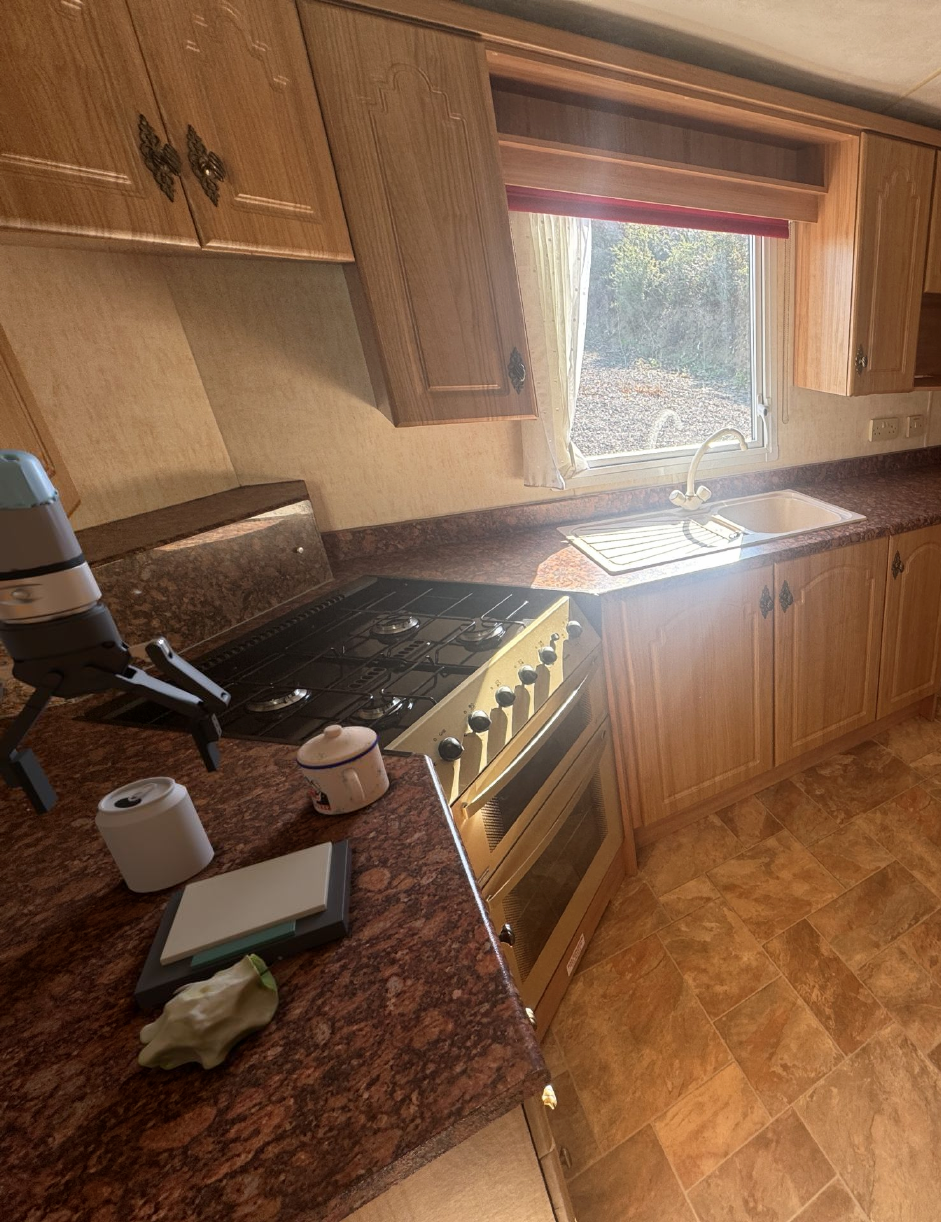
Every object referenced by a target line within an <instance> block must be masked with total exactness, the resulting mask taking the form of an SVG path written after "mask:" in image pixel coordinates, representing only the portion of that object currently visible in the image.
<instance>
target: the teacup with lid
mask: <svg viewBox="0 0 941 1222" xmlns="http://www.w3.org/2000/svg"><path fill="white" fill-rule="evenodd" d="M378 742H379V735H378V734H377V733H376V732H375V731H374V730H373V729H371V728H369V727H366V726H356V725H355V726H345V727H342V726H341V725H340V724H331V725H329V726H327V727H325V728H324V729H323V733H321V734H318V735H317V736H315V737H313V738H311V739H309V740H307V741H306V742H305V743H304V744H302V745H301V747H300V748H299V749H298V751H297V752H296V756H295V757H296V758H295V761H296V764H297V765H298V766H299V767H300V769H301V772H302V774H303V775H302V776H303V777H304V781H305V784H306V786H307V789H308V792H309V794H310V797H311V800H312V803H313V806H314V809H315V810H316V811H317V812H319V813H321V814H324V815H342V814H347V813H350V812H354V811H357V810H360V809H363V808H364V807H366V806H368V805H371V804H372V803H374V802H375V801H378V799H380V798H381V797H382V796H383V795H384V794H385V793H386V792H387V790H388V789H389V786H390V781H389V778H388V774H387V771H386V767H385V764H384V761H383V757H382V754H381V750H380V747H379V743H378Z"/></svg>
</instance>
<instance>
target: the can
mask: <svg viewBox="0 0 941 1222" xmlns="http://www.w3.org/2000/svg"><path fill="white" fill-rule="evenodd" d="M97 809H98V812H97V814H96V816H95V817H94V823H95V825H96V827H97V829H98V831H99V833H100V836H101V837H102V839H103V841H104V843H105V844H106V846H107V848H108V851H109V852H110V854H111V856H112V858H113V860H114V862H115V864H116V866H117V868H118V870H119V872H120V873H121V875H122V877H123V879H124V882H125V883H126V886H127V887H128V889H129V890H131V891H132V892H135V893H145V894H146V893H151V892H157V891H161V890H164V889H167V888H172V887H173V886H175V885H178V884H181V883H182V882H185V881H187V880H189V879H190V878H192V877H193V876H195V875H197V874H198V873H200V872H201V871H202V870H204V869H205V868H206V867H207V866H208V865H209V863H211V861H212V860H213V858H214V855H215V852H214V849H213V847H212V845H211V842H210V840H209V838H208V835H207V832H206V830H205V829H204V826H203V824H202V822H201V819H200V817H199V815H198V812H197V810H196V808H195V805H194V803H193V801H192V798H191V797H190V795H189V792H188V790H187V787H186V786H184V785H183V784H180V783H176V782H175V779H173V778H171V777H170V776H169V777H168V776H156V777H155V776H154V777H149V778H144V779H140V780H137V781H134V782H131V783H128V784H126V785H123V786H121V787H118V788H117V789H115V790H114V791H111V792H110V793H108V794H107V795H105V796H104V797H103V798H102V799H101V800H100V801H99V803H98V804H97Z"/></svg>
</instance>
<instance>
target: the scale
mask: <svg viewBox="0 0 941 1222" xmlns="http://www.w3.org/2000/svg"><path fill="white" fill-rule="evenodd" d="M352 861H353V851H352V848H351V844H350V842H349V840H348V839H344V840H342V841H337V842H335V843H332V842H331V841H328V842H325V843H320V844H317V845H315V846H312V847H308V848H304V849H302V850H297V851H294V852H292V853H288V854H285V855H282V856H277V857H274V858H272V859H269V860H268V859H267V860H265V861H262V862H259V863H255V864H252V865H249V866H245V867H241V868H239V869H235V870H232V871H228V872H226V873H221V874H218V875H215V876H212V877H209V878H206V879H202V880H199V881H196V882H192V883H188V884H187V885H186V886H185V887H184V889H181V890H177V891H174V892H171V895H170V896H169V900H168V902H167V905H166V907H165V910H164V912H163V914H162V918H161V921H160V923H159V926H158V928H157V931H156V934H155V936H154V939H153V941H152V944H151V947H150V949H149V951H148V954H147V958H146V959H145V963H144V966H143V967H142V971H141V973H140V977H139V978H138V982H137V984H136V987H135V988H134V989H135V990H134V991H133V997H134V999H135V1000H136V1001H137V1004H138V1005H139V1007H140V1009H141V1010H145V1009H148V1008H151V1007H153V1006H156V1005H158V1004H162V1003H165V1002H168V1001H171V1000H172V999H173V998H175V997H176V996H177V995H178V994H180V993H181V992H183V991H184V990H183V991H180V992H177V993H175V994H174V992H175V991H176V990H177V989H179V988H181V987H183V986H185V985H187V984H191V983H196V982H202V981H207V980H209V979H211V978H212V977H213V976H214V975H215V974H216V973H217V972H219V971H223V970H227V969H229V968H231V967H233V966H234V965H235V964H237V963H239V962H240V961H241V960H243V959H244V957H245V956H246V955H248V956H249V957H250V956H251V954H255V955H256V956H258V957H259V958H260V959H262V960H263V961H264V962H265V964H266V965H268V964H271V963H275V961H276V960H277V959H278V958H279V957H282V959H284V958H287V957H290V956H292V955H295V954H299V953H301V952H304V951H307V950H309V949H311V948H315V947H317V946H320V945H322V944H325V943H329V942H330V941H334V940H336V939H339V938H342V937H344V936H347V935H348V934H349V918H350V901H351V883H352V882H351V881H352V880H351V879H352Z"/></svg>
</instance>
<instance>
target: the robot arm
mask: <svg viewBox="0 0 941 1222" xmlns="http://www.w3.org/2000/svg"><path fill="white" fill-rule="evenodd" d="M72 527H73V526H72V524H71V523H70V521H69V518H68V516H67V514H66V512H65V509H64V506H63V505H62V503H61V500H60V493H59V491H58V489H57V488H55V487H54V485H53V483H52V481H51V479H50V477H49V476H48V473H47V472H46V470H45V469H44V467H43V465H42V463H41V462H40V460H39V459H38V458H37V457H36V455H34V454H32V453H31V452H28V451H25V450H21V449H11V448H1V449H0V641H1V643H2V645H3V647H4V649H5V651H6V652H7V654H8V656H9V657H10V658H11V660H12V663H13V664H12V665H3V666H0V702H1V701H2V697H3V693H4V689H5V688H6V687H7V686H9V685H10V683H11V680H12V679H15V680H17V681H18V682H21V683H23V684H25V685H27V686H29V687H32V688H34V689H35V690H34V691H33V693H31V696H30V697H29V698H28V699H27V701H26V703H24V706H23V708H22V709H21V710H20V711H19V713H18V715H17V716H16V718H15V719H14V720H13V722H12V723H11V725H10V726H9V728H8V729H7V730H6V732H5V733H4V734H3V736H2V738H1V739H0V776H1V778H2V780H3V781H4V783H5V785H6V786H7V787H8V788H10V789H16V788H20V787H21V788H22V790H23V792H24V793H25V795H26V798H27V799H28V801H29V803H30V804H31V806H32V808H33V809H34V812H35V813H36V815H37V816H40V815H44V814H48V813H49V812H50V811H51V809H52V808H53V807H54V805H55V803H57V801H58V799H59V797H58V795H57V793H56V792H55V790H54V788H53V786H52V784H51V783H50V781H49V779H48V777H47V775H46V773H45V772H44V769H43V767H42V766H41V765H40V762H39V761H38V759H37V757H36V756H35V753H34V751H33V750H32V748H31V747H28V748H24V749H20V750H18V748H20V746H21V744H22V743H23V741H24V740H25V738H26V737H27V735H28V734H29V732H30V731H31V729H32V728H33V727H34V725H35V723H36V722H37V721H38V719H39V718H40V717H41V715H42V714H43V712H44V711H45V709H46V708H47V707H48V705H49V704H50V702H51V701H52V699H53V698H54V697H55V698H58V699H64V701H68V700H73V699H77V698H79V697H82V696H85V695H100V694H105V693H108V692H109V691H110V690H112V689H115V690H118V691H121V692H123V693H127V694H128V693H129V694H134V695H136V696H138V697H141V698H144V699H146V700H149V701H151V702H153V703H156V704H158V705H160V706H163V707H165V708H168V709H170V710H173V711H176V712H177V713H179V714H182V715H184V716H187V717H190V719H189V721H188V723H187V727H188V730H189V732H190V734H191V737H192V739H193V741H194V743H195V746H196V748H197V750H198V752H199V755H200V757H201V759H202V762H203V764H204V767H205V769H206V771H207V773H208V774H209V773H213V772H217V771H218V769H219V767H220V764H221V761H222V758H221V755H220V752H219V750H218V748H217V745H216V743H215V742H219V741H220V738H221V736H222V731H223V730H222V729H221V726H220V724H219V721H218V719H217V716H216V713H218V712H223V711H225V710H226V709H227V708H228V705H229V703H230V701H231V698H232V697H231V694H230V693H229V692H227V691H226V690H224V688H222V687H220V686H219V685H218V684H217V683H215V682H214V681H212V680H211V679H210V678H209V677H208V676H206V675H205V674H203V673H202V672H200V671H199V670H198V669H197V668H195V667H194V666H192V665H191V664H190V663H188V661H186V660H185V659H183V658H182V657H181V656H179V655H178V654H177V653H176V652H174V650H173V648H172V646H171V645H170V644H169V642H168V641H167V639H166V638H165V637H164V636H160V635H158V636H157V635H156V636H153V637H152V638H151V639H150V640H149V641H145V642H141V643H138V644H134V645H129V644H127V643H126V642H125V641H124V640H123V639H122V637H121V635H120V632H119V630H118V628H117V626H116V623H115V621H114V619H113V617H112V615H111V612H110V610H109V608H108V606H107V604H106V603H104V602H102V601H99V599H101V597H102V596H103V594H102V592H101V589H100V588H99V585H98V583H97V581H96V579H95V577H94V574H93V573H92V571H91V568H90V566H89V563H88V561H87V560H86V557H85V556H84V553H83V551H82V548H81V545H80V543H79V541H78V539H77V537H76V535H75V532H74V530H73V528H72ZM134 658H140V659H141V660H143V661H144V662H145V663H148V664H149V663H151V664H153V665H154V666H155V667H156V668H157V669H158V670H159V671H161V672H162V673H163V674H165V675H166V676H167V677H169V678H170V679H171V680H173V681H174V682H175V683H177V684H178V685H180V686H181V687H183V689H185V690H186V691H185V690H182V689H180V688H178V687H176V686H173V685H171V684H169V683H166V682H164V681H162V680H160V679H157V678H155V677H152V676H150V675H149V674H147V673H146V672H145V671H144V670H143V669H140V668H138V667H135V666H133V665H131V662H132V661H133V659H134ZM187 691H188V692H187ZM17 750H18V751H17Z"/></svg>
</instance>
